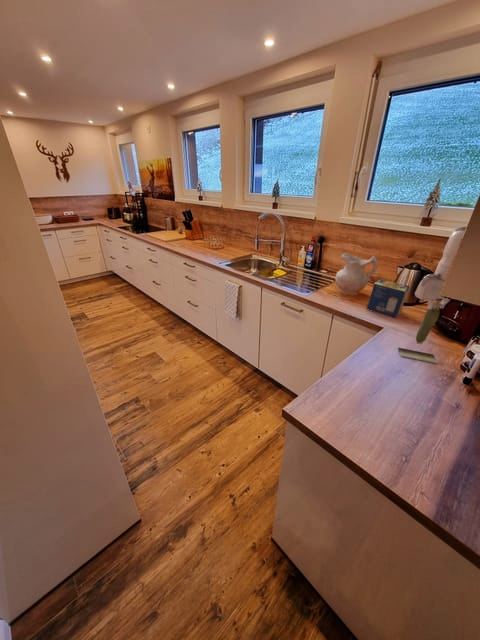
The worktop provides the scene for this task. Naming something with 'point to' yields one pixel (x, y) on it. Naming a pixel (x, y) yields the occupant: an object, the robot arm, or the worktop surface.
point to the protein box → (387, 298)
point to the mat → (417, 355)
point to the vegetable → (427, 323)
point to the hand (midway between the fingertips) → (434, 308)
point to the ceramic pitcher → (354, 274)
